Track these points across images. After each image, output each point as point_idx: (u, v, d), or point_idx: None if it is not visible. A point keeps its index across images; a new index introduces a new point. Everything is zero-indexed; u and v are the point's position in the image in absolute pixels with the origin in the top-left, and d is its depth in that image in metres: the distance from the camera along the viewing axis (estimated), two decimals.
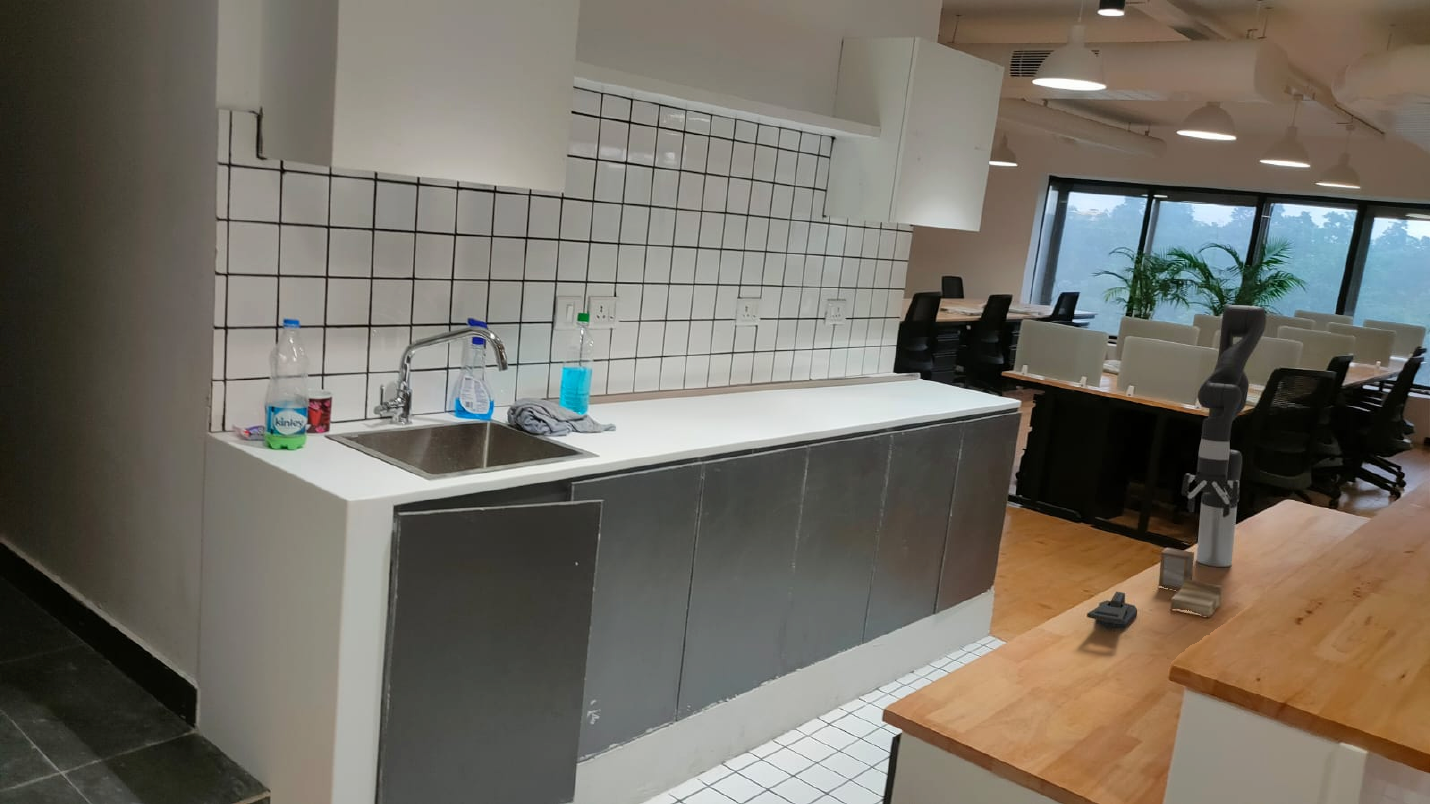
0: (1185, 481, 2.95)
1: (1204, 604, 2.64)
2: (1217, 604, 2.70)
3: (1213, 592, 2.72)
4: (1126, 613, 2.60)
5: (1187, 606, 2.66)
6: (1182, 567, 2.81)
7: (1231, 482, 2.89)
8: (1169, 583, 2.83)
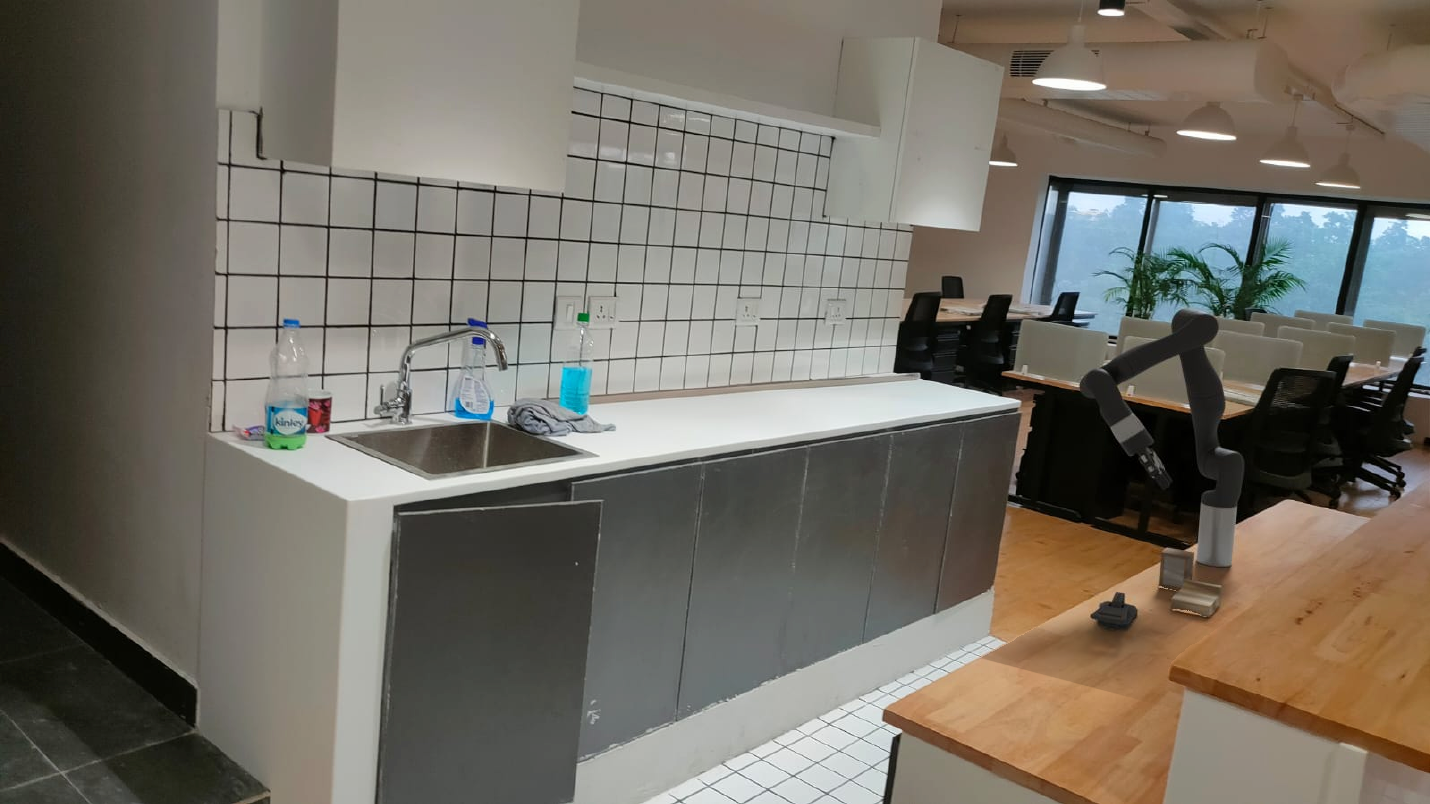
0: None
1: (1204, 604, 2.64)
2: (1217, 604, 2.70)
3: (1213, 592, 2.72)
4: (1127, 613, 2.60)
5: (1187, 606, 2.66)
6: (1182, 567, 2.81)
7: None
8: (1169, 583, 2.83)
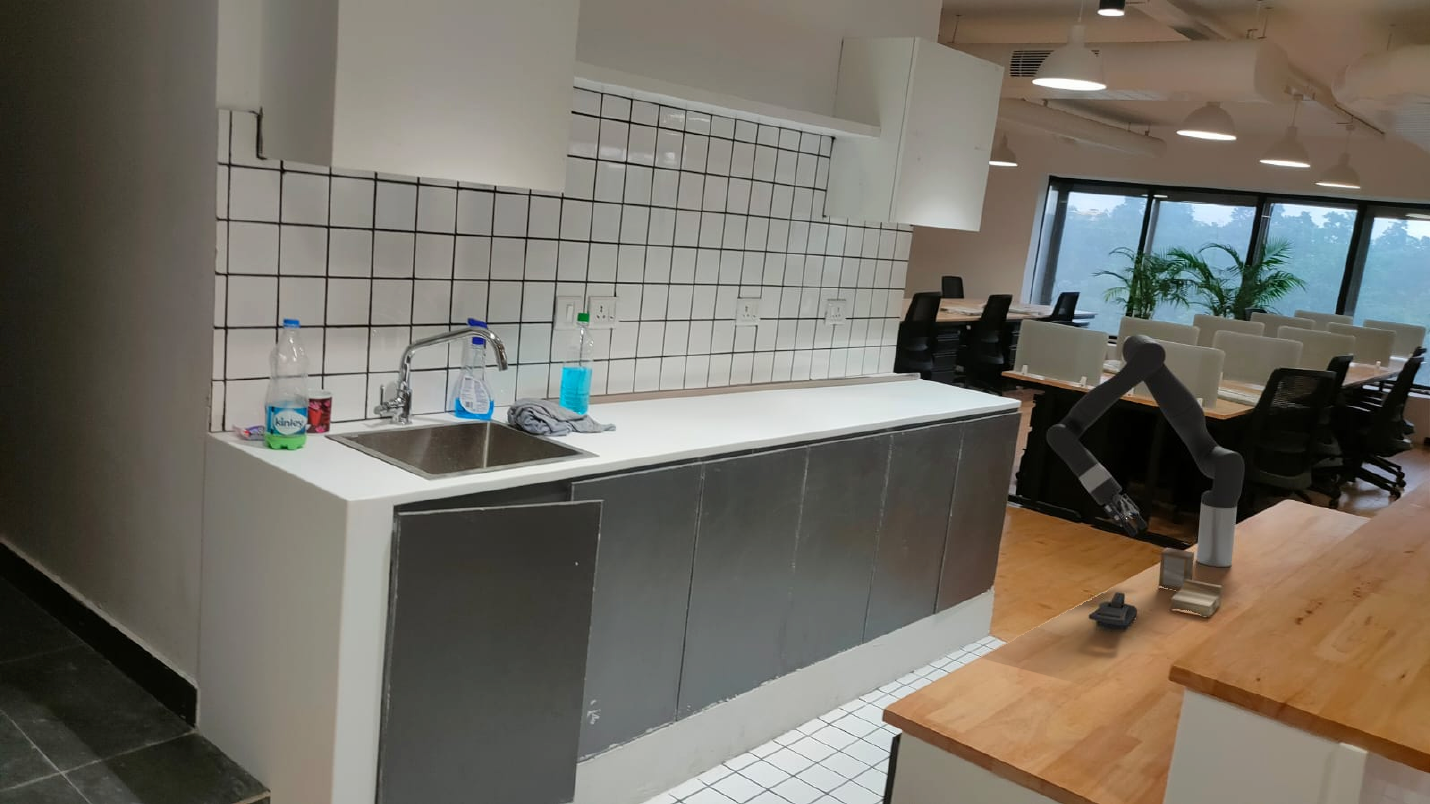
0: None
1: (1204, 604, 2.64)
2: (1217, 604, 2.70)
3: (1213, 592, 2.72)
4: (1126, 614, 2.60)
5: (1187, 606, 2.66)
6: (1181, 567, 2.81)
7: None
8: (1169, 583, 2.83)
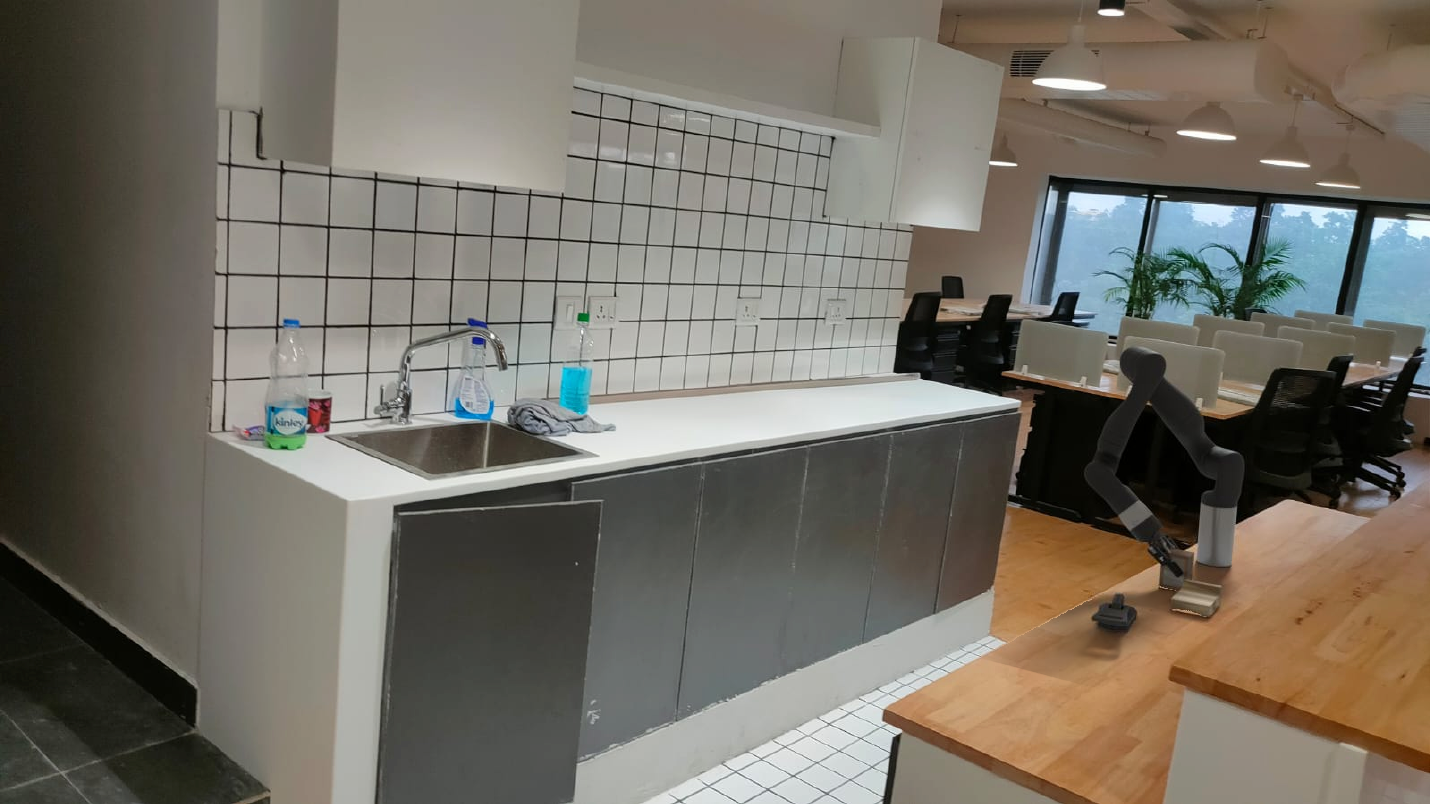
0: None
1: (1204, 604, 2.64)
2: (1217, 604, 2.70)
3: (1213, 592, 2.72)
4: (1127, 615, 2.59)
5: (1187, 606, 2.66)
6: (1182, 567, 2.81)
7: None
8: (1169, 583, 2.83)
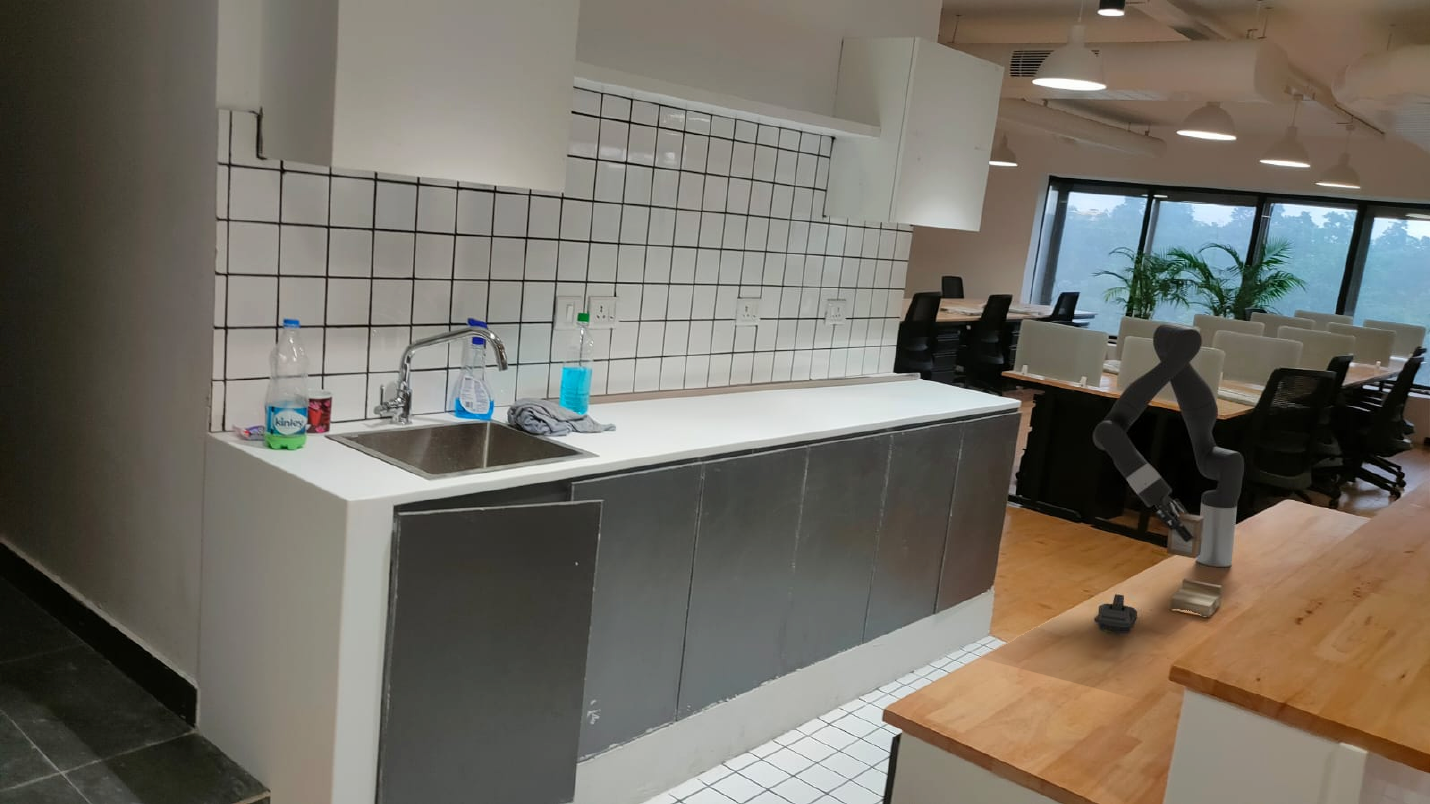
0: None
1: (1204, 604, 2.64)
2: (1217, 604, 2.70)
3: (1213, 592, 2.72)
4: None
5: (1187, 606, 2.66)
6: (1190, 531, 2.73)
7: None
8: (1177, 547, 2.75)
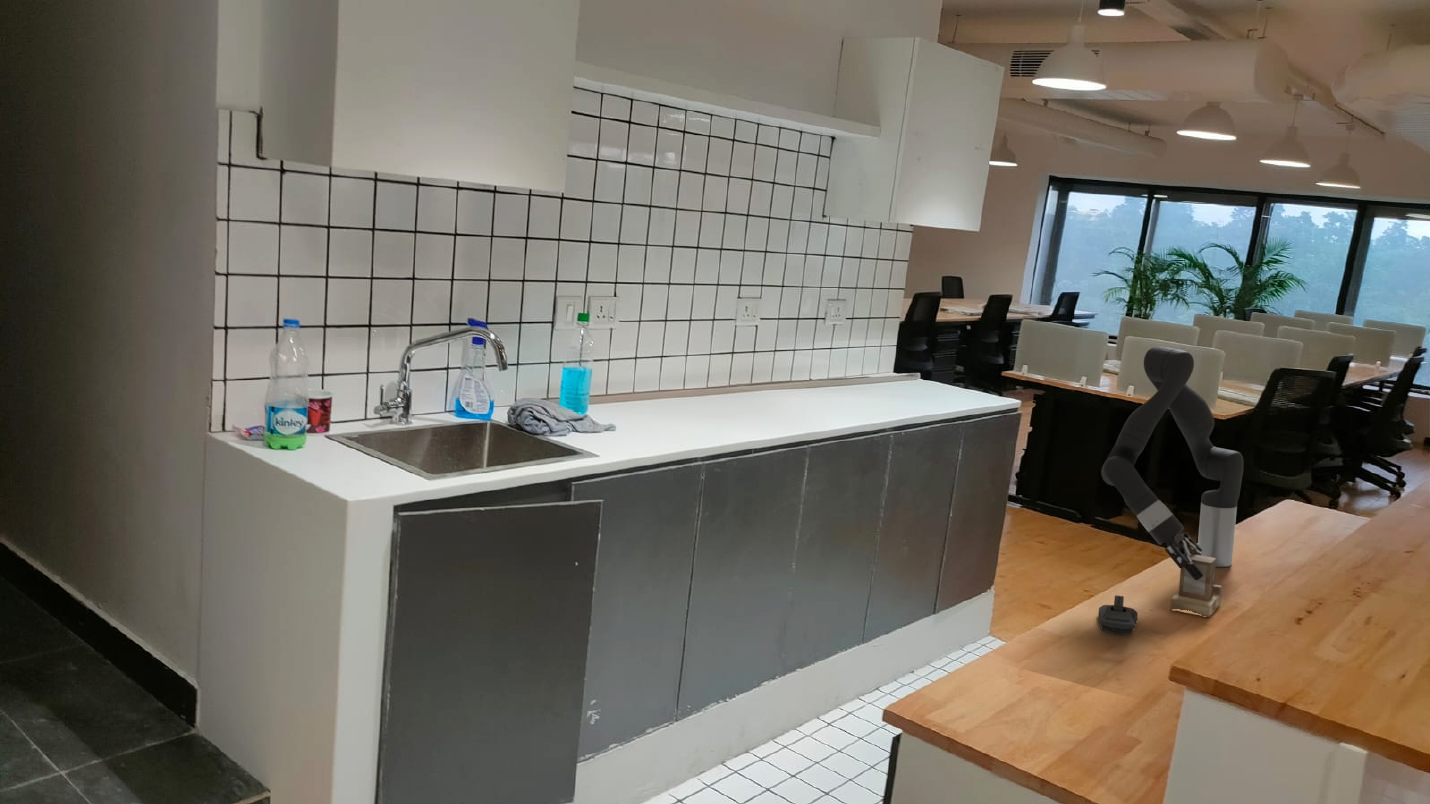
0: None
1: (1204, 604, 2.64)
2: (1217, 604, 2.70)
3: (1213, 592, 2.72)
4: None
5: (1187, 606, 2.66)
6: (1203, 573, 2.66)
7: None
8: (1189, 590, 2.69)
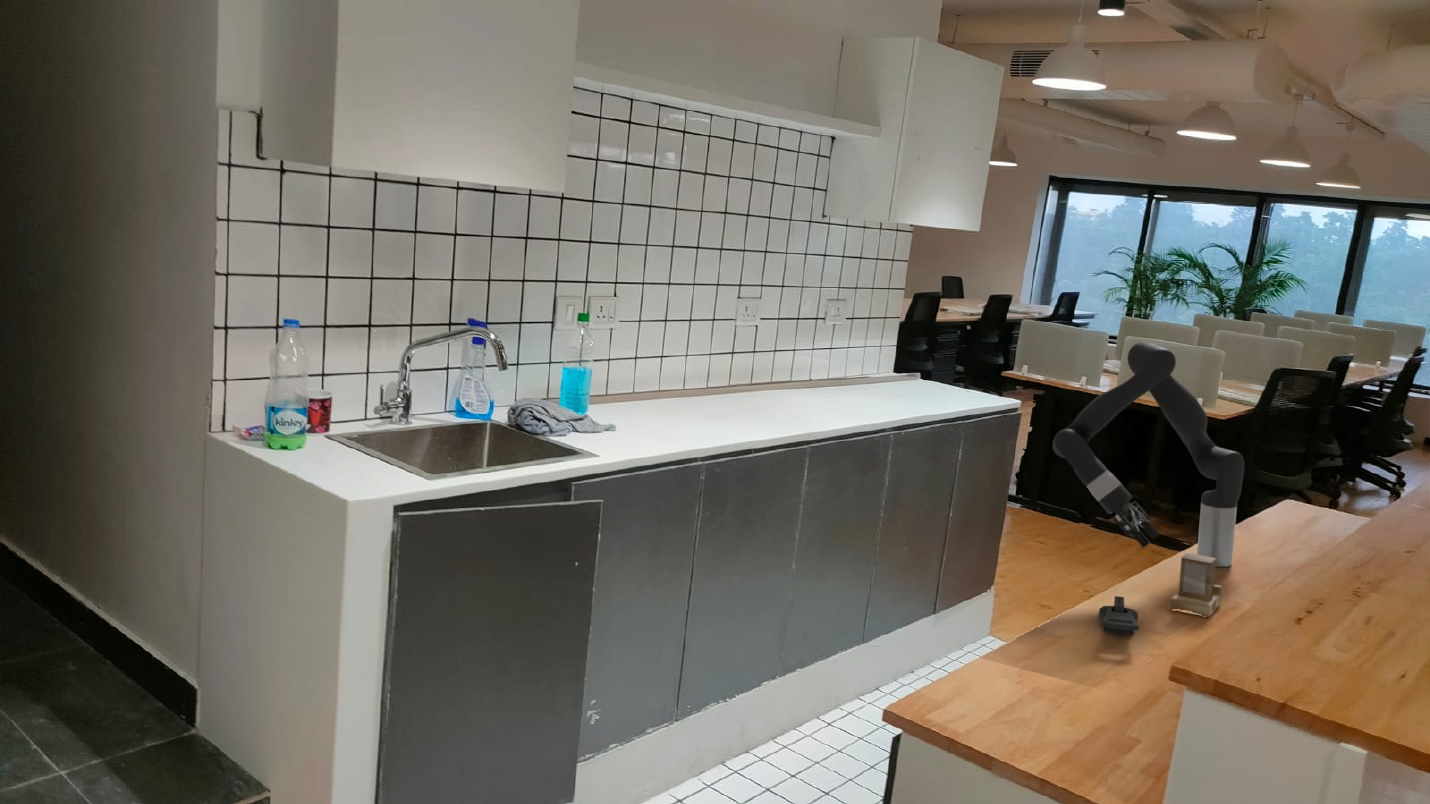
0: None
1: (1204, 604, 2.64)
2: (1217, 604, 2.70)
3: (1213, 592, 2.72)
4: None
5: (1187, 606, 2.66)
6: (1203, 573, 2.66)
7: None
8: (1189, 590, 2.69)
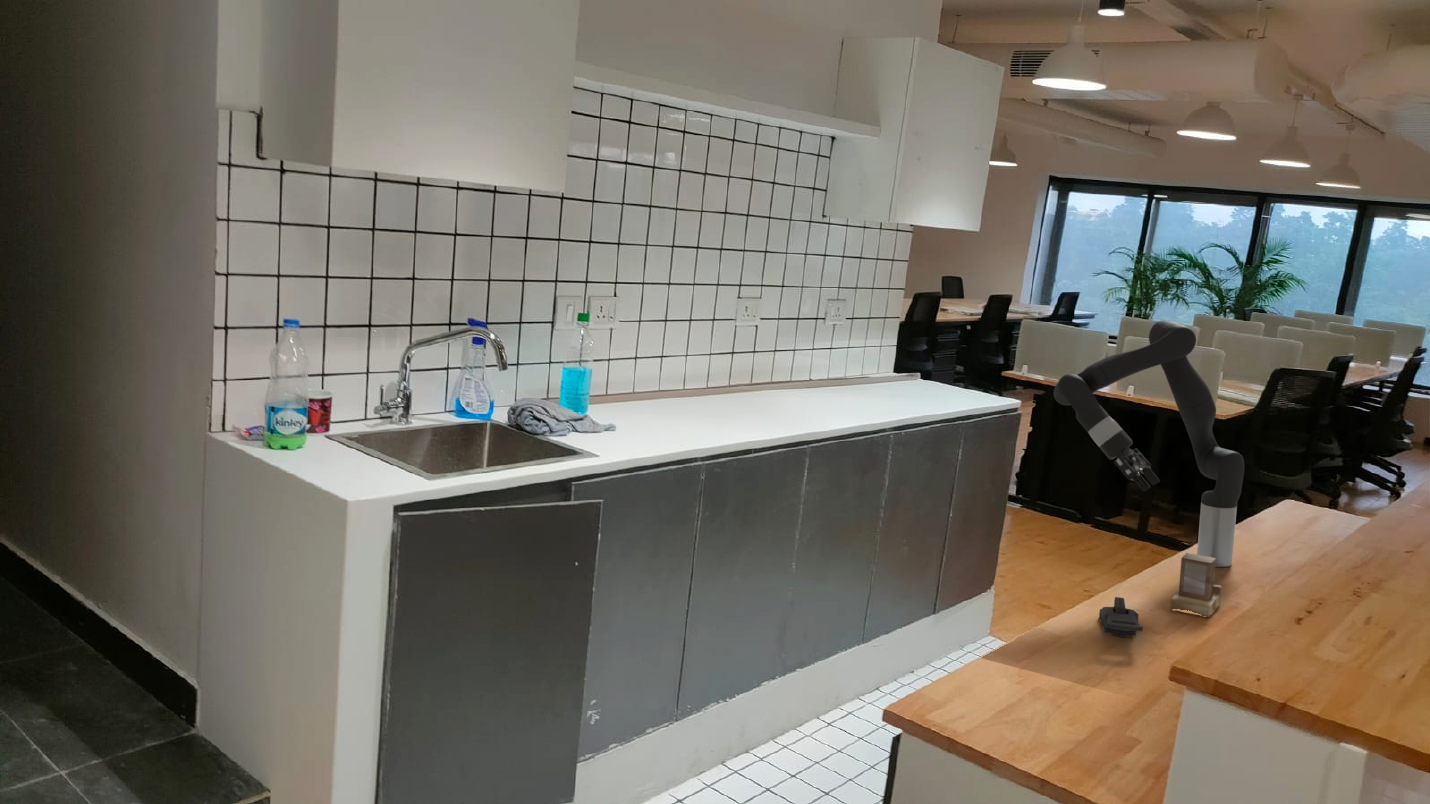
0: None
1: (1204, 604, 2.64)
2: (1217, 604, 2.70)
3: (1213, 592, 2.72)
4: None
5: (1187, 606, 2.66)
6: (1203, 573, 2.66)
7: None
8: (1189, 590, 2.69)
